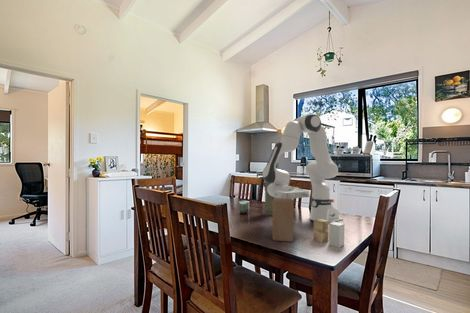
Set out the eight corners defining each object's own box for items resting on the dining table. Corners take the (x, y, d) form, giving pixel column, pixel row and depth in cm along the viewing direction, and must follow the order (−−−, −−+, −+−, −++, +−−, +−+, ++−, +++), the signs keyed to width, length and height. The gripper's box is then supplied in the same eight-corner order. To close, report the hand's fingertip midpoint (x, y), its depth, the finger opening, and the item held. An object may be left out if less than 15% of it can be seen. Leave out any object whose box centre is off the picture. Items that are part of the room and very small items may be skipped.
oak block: (320, 238, 130) (321, 218, 130) (328, 241, 126) (328, 220, 126) (313, 239, 128) (313, 219, 128) (320, 242, 124) (321, 222, 124)
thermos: (263, 212, 190) (264, 165, 190) (279, 213, 186) (279, 166, 186) (260, 214, 182) (261, 166, 182) (277, 216, 178) (277, 166, 178)
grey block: (334, 242, 124) (334, 221, 124) (344, 244, 120) (344, 223, 120) (329, 244, 121) (329, 223, 121) (339, 247, 117) (339, 225, 117)
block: (293, 242, 123) (293, 201, 123) (272, 241, 125) (272, 200, 125) (292, 236, 133) (293, 198, 133) (273, 235, 135) (273, 197, 135)
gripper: (272, 188, 147) (287, 191, 135) (299, 187, 156) (315, 189, 144) (271, 199, 147) (286, 203, 135) (299, 197, 156) (315, 200, 144)
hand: (302, 196), depth 140 cm, fingers open, 8 cm apart
